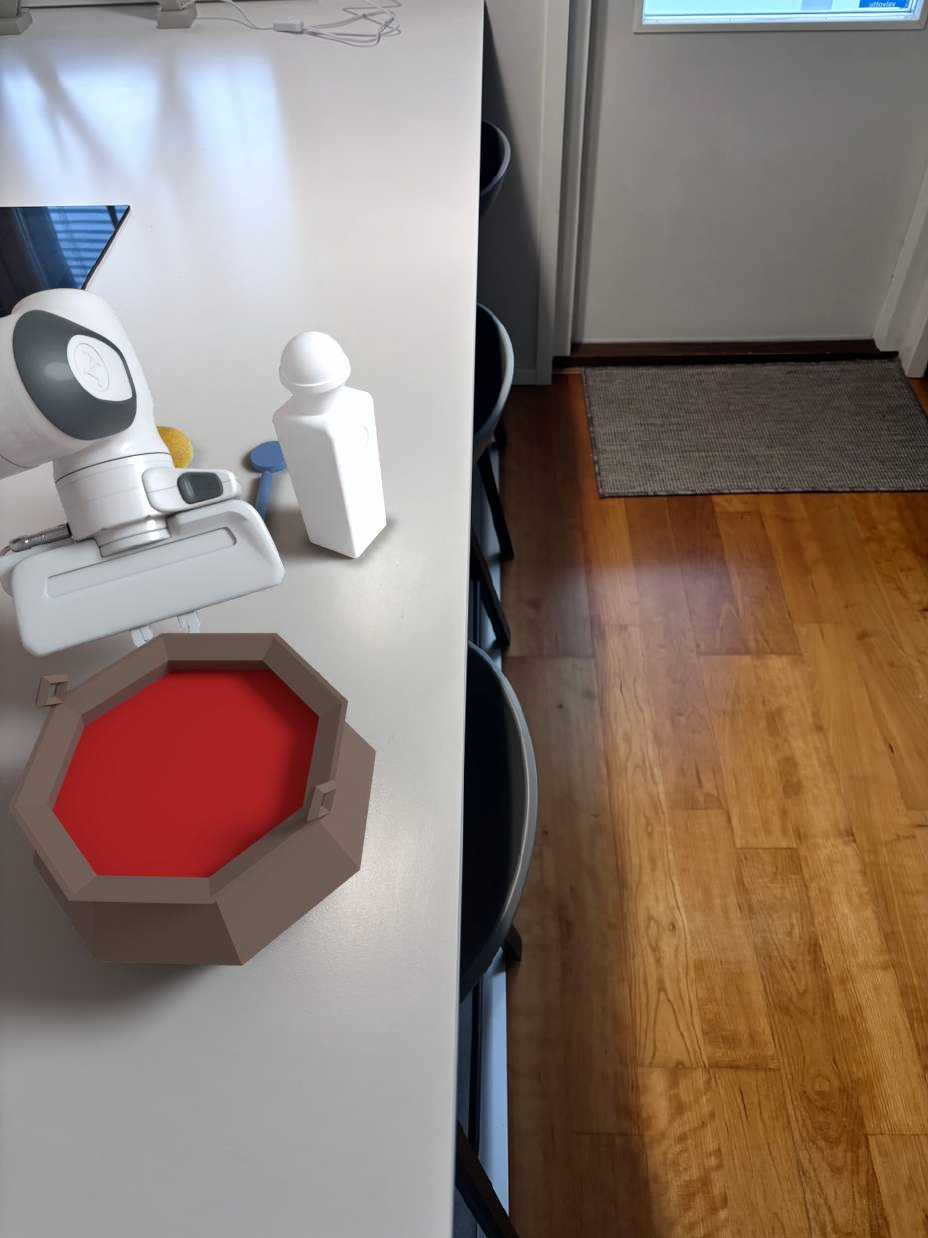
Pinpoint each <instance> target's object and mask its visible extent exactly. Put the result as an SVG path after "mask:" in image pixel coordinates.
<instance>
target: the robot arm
mask: <svg viewBox="0 0 928 1238" xmlns="http://www.w3.org/2000/svg"><path fill="white" fill-rule="evenodd" d="M138 357H139V356H138V355H137V352H136V349H135V348H134V346H133V343H132V341H131V338H130V337H129V334H128V332H127V330H126V328H125V326H124V324H123V322H122V320H121V319H120V317H119V315H118V313H117V312H116V310H115V309H114V307H113V306H112V304H111V303H110V302H109V301H108V300H107V299H106V298H105V297H103V296H101V295H99V294H97V293H95V292H92V291H90V290H85V289H81V288H74V287H59V288H48V289H43V290H40V291H37V292H34V293H31V294H29V295H27V296H25V297H24V298H21V300H19V301H18V302H17V303H16V304H15V305H14V306H13V308H12V310H11V313H10V314H8V315H6V316H3V317H0V481H1V480H4V479H7V478H9V477H12V476H13V477H14V476H15V475H18V474H21V473H24V472H27V471H30V470H33V469H35V468H38V467H40V466H41V465H45V464H48V463H50V462H52V476H53V482H54V485H55V488H56V491H57V494H58V498H59V500H60V503H61V507H62V509H63V513H64V515H65V518H66V521H67V522H66V523H62V524H59V525H56V526H51V527H48V528H46V529H43V530H41V531H38V532H35V533H33V534H23V535H19V536H16V537H14V538H12V539H10V540H8V545H6V546H5V547H3V548H2V549H1V550H0V585H1V587H2V589H3V591H4V592H5V593H6V594H7V595H8V596H10V597H11V600H12V608H13V612H14V617H15V623H16V626H17V631H18V634H19V638H20V642H21V644H22V647H23V648H24V650H26V651H27V653H30V654H32V655H33V656H35V657H37V658H40V657H46V656H50V655H52V654H55V653H59V652H63V651H66V650H69V649H73V648H76V647H79V646H82V645H85V644H89V643H93V642H95V641H99V640H102V639H107V638H109V637H112V636H116V635H119V634H122V633H125V632H126V633H127V632H129V634H130V637H131V640H132V643H133V645H134V646H135V647H136V649H137V648H138V647H140V646H142V645H143V644H145V643H146V642H148V641H150V640H151V639H153V638H155V635H154V631H153V628H152V624H155V623H159V622H162V621H165V620H168V619H172V618H176V617H177V621H178V623H179V626H180V629H181V630H185V629H186V630H187V629H188V631H187V633H200V630H201V625H202V623H201V620H200V618H199V614H198V610H202V609H205V608H208V607H212V606H215V605H219V604H222V603H226V602H229V601H232V600H235V599H238V598H239V599H240V598H242V597H245V596H249V595H252V594H255V593H258V592H261V591H266V590H268V589H272V588H275V587H279V586H280V585H281V584H282V582H283V581H284V578H285V575H286V571H285V566H284V564H283V562H282V558H281V557H280V554H279V551H278V549H277V546H276V544H275V541H274V539H273V538H272V535H271V533H270V531H269V529H268V527H267V525H266V523H265V521H264V522H263V520H262V518H261V516H260V515H259V513H258V512H257V511H256V510H255V509H254V508H255V507H254V506H253V505H251V504H250V503H248V502H247V501H245V500H241V498H242V494H243V493H242V492H243V491H242V486H241V483H240V480H239V477H237V475H236V474H235V473H234V472H233V471H230V470H228V469H222V468H188V467H187V468H175V466H174V463H173V460H172V457H171V454H170V452H169V449H168V448H167V446H166V445H165V443H164V442H163V440H162V439H161V437H160V435H159V433H158V430H157V427H156V426H157V425H156V420H155V419H156V418H155V402H154V399H153V395H152V392H151V389H150V387H149V383H148V380H147V378H146V375H145V372H144V369H143V367H142V364H141V362H140V359H139V358H138ZM10 551H11V552H12V553H9V552H10ZM8 553H9V554H8Z"/></svg>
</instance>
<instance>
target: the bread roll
mask: <svg viewBox="0 0 928 1238" xmlns="http://www.w3.org/2000/svg"><path fill="white" fill-rule="evenodd" d="M156 427H157V430H158V433H159V435H160V437H161V439H162V440H163V442H164V443H165V445H166V446H167V448H168V449H169V452H170V454H171V457H172V460H173V463H174V466H175V468H188V467H189V466H190V464H191V463H192V462H193V460H194V455H195V451H194V448H193V445H192V442H191V440H190V439H189V437H188V436H187V435H186V434H185V433H184V432H183V431H181V430H180V429H177V428H175V427H172V426H167V425H165V426H164V425H156Z"/></svg>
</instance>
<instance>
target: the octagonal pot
mask: <svg viewBox="0 0 928 1238" xmlns="http://www.w3.org/2000/svg"><path fill="white" fill-rule="evenodd" d="M147 641H148V642H146V643H145V644H143V645H142V646H140V647H138V648H137V647H136V648H135V649H133V650H132V651H130V652H128V653H127V654H125V655H123V656H122V657H120V658H119V659H117V660H116V661H114V662H112V663H111V664H109V665H107V666H106V667H104V668H102V669H101V670H99V671H98V672H96V673H94V674H93V675H91V676H89V677H88V678H86V679H85V680H83V681H82V682H80V683H78V684H76V685H75V686H73V687H71V688H70V689H68V690H67V688H68V683H69V675H68V673H64V674H63V673H62V674H54V675H43V676H41V678H39V682H38V687H37V692H36V696H35V700H34V701H35V709H38V708H39V709H40V708H46V707H47V708H49V710H48V712H47V715H46V717H45V719H44V722H43V724H42V726H41V729H40V731H39V734H38V735H37V739H36V741H35V744H34V745H33V748H32V751H31V752H30V755H29V758H28V760H27V761H26V762H27V763H26V765H25V767H24V769H23V772H22V774H21V777H20V779H19V782H18V784H17V786H16V788H15V791H14V794H13V796H12V799H11V801H10V803H9V805H8V808H7V809H8V810H9V812H10V813H11V815H12V817H13V818H14V820H15V821H16V822H17V824H18V825H19V827H20V829H21V830H22V832H23V833H24V835H25V836H26V838H27V839H28V841H29V842H30V844H31V846H32V847H33V861H32V862H33V865H34V867H35V868H36V870H37V871H38V873H39V875H40V877H42V879H43V881H44V882H45V884H46V885H47V887H48V888H49V890H50V892H51V893H52V895H53V896H54V897H55V900H56V901H57V902H58V904H59V906H60V907H61V908H62V910H63V912H64V913H65V914H66V916H67V918H68V919H69V921H70V922H71V925H72V926H73V927H74V928H75V930H76V932H77V933H78V935H79V937H80V938H81V940H82V941H83V943H84V944H85V945H86V947H87V949H88V951H89V952H90V953H91V955H92V956H93V958H94V959H95V961H96V962H97V963H125V964H127V963H128V964H129V963H131V964H165V965H197V966H199V965H203V966H232V967H233V966H236V967H237V966H238V967H240V966H241V967H242V966H244V965H245V964H246V963H248V962H249V961H250V960H251V959H252V958H254V957H255V956H256V955H257V954H258V953H260V952H261V951H262V950H263V949H265V948H266V947H267V946H268V945H269V944H271V943H272V942H274V940H276V939H278V937H279V936H281V935H282V934H283V933H284V932H286V931H287V930H288V929H289V928H291V926H293V925H294V924H295V923H297V922H298V921H299V920H301V919H302V918H303V917H304V916H305V915H306V914H308V913H310V911H311V910H313V909H314V908H315V907H316V906H317V905H319V904H320V903H322V902H323V901H324V900H325V899H326V898H327V897H328V896H330V895H331V894H332V893H334V892H335V891H336V890H338V888H340V887H341V886H342V885H344V884H345V883H346V882H347V881H349V879H351V878H352V877H353V876H354V875H355V874H357V873H358V872H359V871H361V867H362V859H363V852H364V846H365V845H364V844H365V838H366V837H365V836H366V829H367V822H368V815H369V807H370V801H371V800H370V799H371V792H372V785H373V777H374V772H375V771H374V770H375V762H376V755H377V750H376V749H374V748H373V746H372V745H371V744H369V743H368V742H367V740H366V739H364V738H363V737H362V735H360V734H359V733H358V732H357V730H356V729H354V728H353V727H352V726H351V725H350V724H349V723H348V722H347V721H346V718H347V717H346V716H347V711H348V705H349V700H348V699H347V698H346V697H345V696H344V695H343V694H341V692H339V691H338V690H337V689H336V688H335V687H334V686H333V684H331V683H330V682H329V681H328V680H327V679H326V678H324V676H322V674H321V673H320V672H318V671H317V669H315V668H314V667H313V665H311V664H310V662H308V661H307V660H306V659H304V657H303V656H301V654H300V653H299V652H298V651H296V650H295V649H294V648H293V647H292V646H291V645H290V644H289V643H288V642H287V641H286V640H285V639H283V638H282V637H281V636H280V635H279V634H278V632H199V633H188V632H160V634H158V635H156V636H154V638H153V639H150V640H147ZM52 686H54V691H53V695H52V696H49V695H50V690H51V687H52Z"/></svg>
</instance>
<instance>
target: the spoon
mask: <svg viewBox="0 0 928 1238" xmlns="http://www.w3.org/2000/svg"><path fill="white" fill-rule="evenodd" d="M249 458H250V462H251V465H252V467H253V468H254V469H255V470H256V471H257V472H260V473H261V475H260V480H259V484H258V489H257V495H256V499H255V503H254V507H253V508H254V509H255V510H256V511H257V512H258V513H259V515H260V516H261V518H262V520H263V522H264V523H265V521H266V515H267V510H268V506H269V499H270V494H271V489H272V483H273V480H274V479H273V478H274V476H273V473H278V472H281V471H283V470H285V469H287V466H286V462H285V459H284V456H283V453H282V450H281V446H280V443H279V440H269V441H265V442H262V443H260V444H258V445H256V446H255V447H254V448H253V449H252V450H251V452H250V456H249Z"/></svg>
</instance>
